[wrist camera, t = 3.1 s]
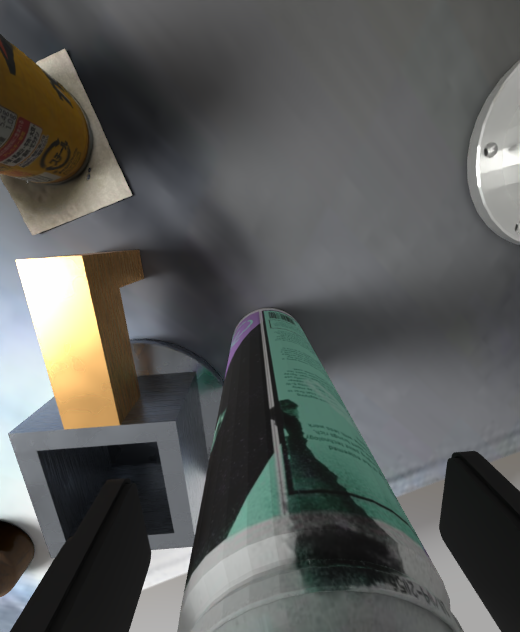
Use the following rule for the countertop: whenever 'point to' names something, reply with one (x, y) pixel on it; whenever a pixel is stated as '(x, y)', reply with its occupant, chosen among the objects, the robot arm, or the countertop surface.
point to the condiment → (52, 142)
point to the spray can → (300, 508)
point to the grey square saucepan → (111, 404)
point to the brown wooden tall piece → (13, 555)
